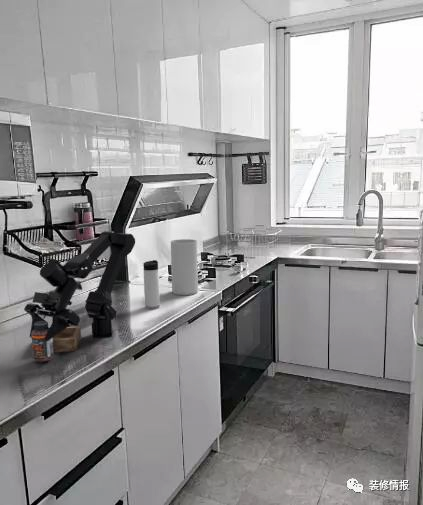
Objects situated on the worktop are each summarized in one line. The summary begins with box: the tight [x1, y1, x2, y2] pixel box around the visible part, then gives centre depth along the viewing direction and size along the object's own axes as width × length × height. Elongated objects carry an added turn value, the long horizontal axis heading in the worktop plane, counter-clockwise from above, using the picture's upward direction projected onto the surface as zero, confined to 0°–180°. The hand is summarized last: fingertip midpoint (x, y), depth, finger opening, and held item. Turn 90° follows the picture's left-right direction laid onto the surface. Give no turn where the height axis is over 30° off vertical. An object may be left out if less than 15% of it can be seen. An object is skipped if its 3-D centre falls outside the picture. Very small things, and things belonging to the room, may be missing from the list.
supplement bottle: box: [30, 320, 55, 362], centre depth 140 cm, size 6×6×11 cm
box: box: [52, 325, 82, 353], centre depth 154 cm, size 13×13×4 cm
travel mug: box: [142, 259, 161, 310], centre depth 197 cm, size 6×7×20 cm
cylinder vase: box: [170, 238, 199, 296], centre depth 221 cm, size 12×12×25 cm
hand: (38, 339), depth 138 cm, fingers closed on supplement bottle, 6 cm apart
